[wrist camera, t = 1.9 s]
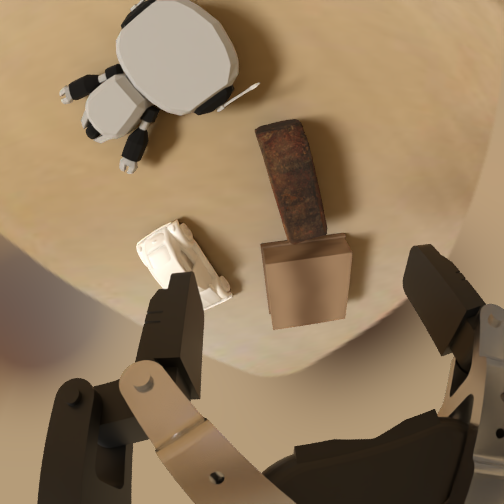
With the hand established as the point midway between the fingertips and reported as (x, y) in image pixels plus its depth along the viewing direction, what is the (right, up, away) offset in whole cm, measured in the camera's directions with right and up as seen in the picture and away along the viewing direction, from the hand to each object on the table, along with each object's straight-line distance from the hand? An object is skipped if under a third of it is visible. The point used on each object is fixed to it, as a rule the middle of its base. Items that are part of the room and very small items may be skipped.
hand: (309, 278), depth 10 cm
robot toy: (-11, +16, +12) cm, 23 cm away
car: (-9, 0, +24) cm, 25 cm away
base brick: (+4, -2, +25) cm, 25 cm away
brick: (+1, +9, +18) cm, 20 cm away
